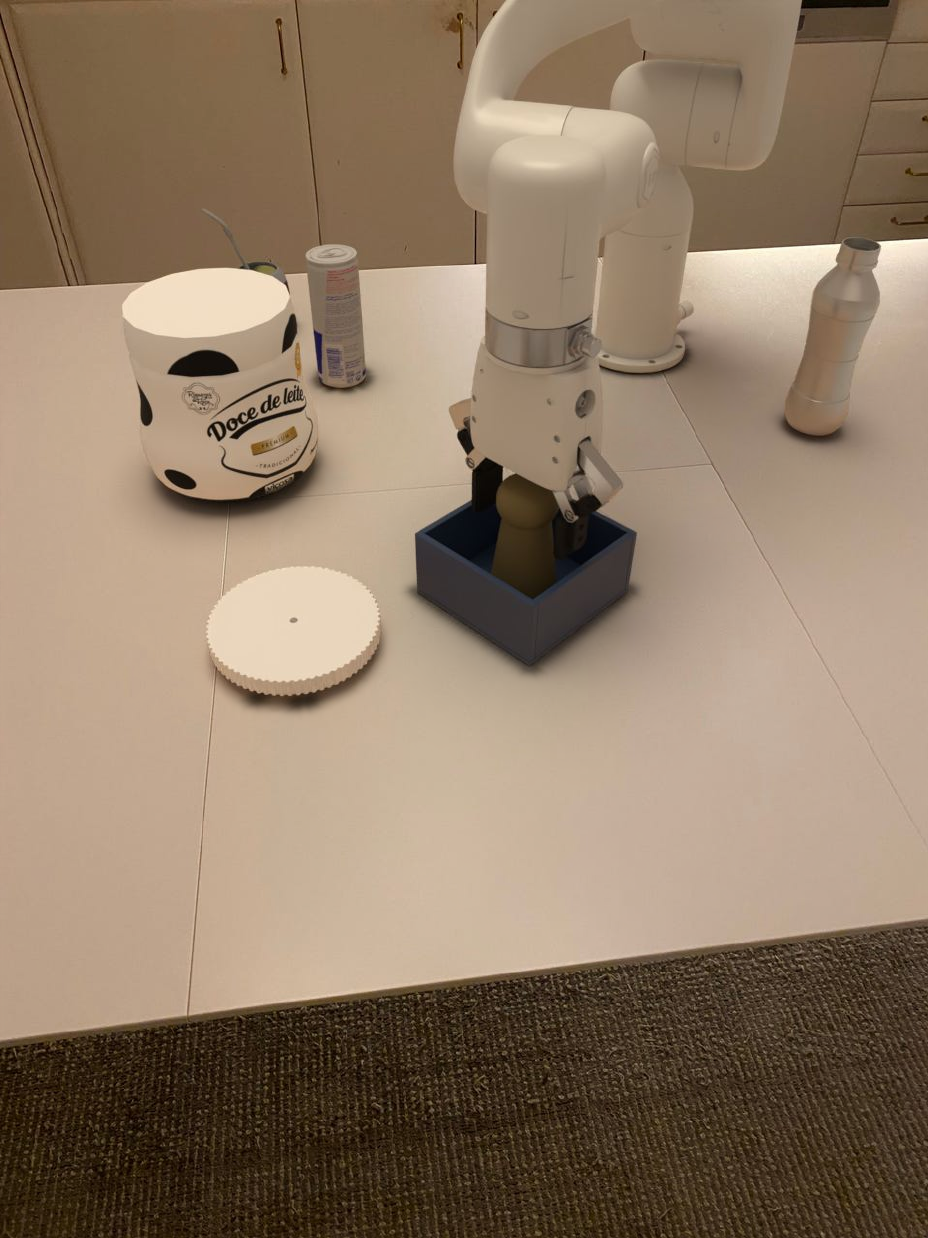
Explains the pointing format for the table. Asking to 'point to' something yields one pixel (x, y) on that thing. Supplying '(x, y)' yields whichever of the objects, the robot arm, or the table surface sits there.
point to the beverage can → (336, 314)
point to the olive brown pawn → (525, 536)
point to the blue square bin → (523, 627)
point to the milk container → (220, 383)
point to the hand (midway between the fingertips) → (526, 527)
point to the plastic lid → (293, 630)
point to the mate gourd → (257, 266)
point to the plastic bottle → (834, 339)
